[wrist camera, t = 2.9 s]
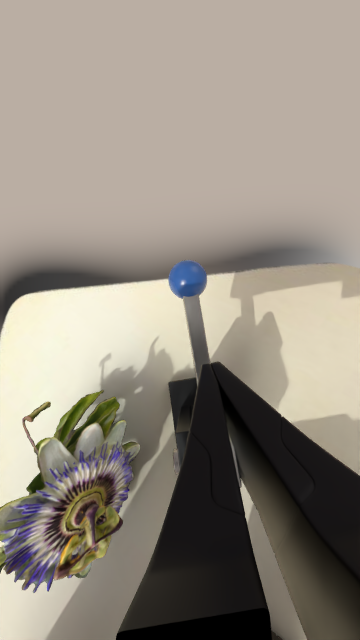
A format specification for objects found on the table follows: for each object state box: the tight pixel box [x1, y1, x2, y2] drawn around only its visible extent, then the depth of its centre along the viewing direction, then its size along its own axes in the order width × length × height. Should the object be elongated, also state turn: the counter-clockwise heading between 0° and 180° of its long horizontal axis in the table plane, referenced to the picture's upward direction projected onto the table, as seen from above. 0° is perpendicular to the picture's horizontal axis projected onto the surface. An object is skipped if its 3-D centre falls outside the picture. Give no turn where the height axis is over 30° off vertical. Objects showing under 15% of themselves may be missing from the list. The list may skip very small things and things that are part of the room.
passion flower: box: [0, 390, 140, 593], centre depth 16 cm, size 11×11×12 cm
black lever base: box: [169, 378, 258, 510], centre depth 15 cm, size 10×7×10 cm
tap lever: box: [169, 260, 241, 488], centre depth 12 cm, size 15×3×3 cm, turn 9°
